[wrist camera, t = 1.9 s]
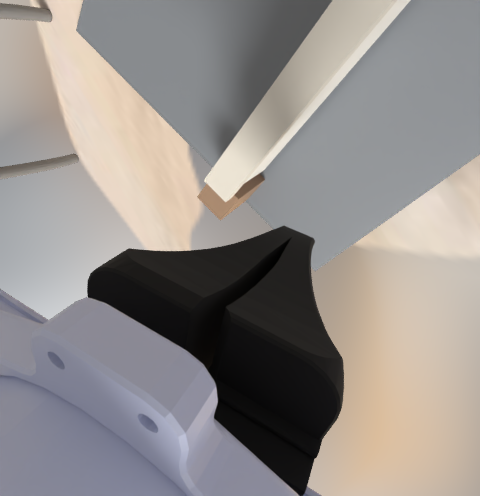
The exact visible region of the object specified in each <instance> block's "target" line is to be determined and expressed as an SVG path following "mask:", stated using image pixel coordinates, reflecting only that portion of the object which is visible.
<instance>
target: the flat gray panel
mask: <svg viewBox="0 0 480 496" xmlns="http://www.w3.org/2000/svg"><path fill="white" fill-rule="evenodd" d="M332 1H333V0H83V4H82V8H81V13H80V17H79V21H78V25H77V29H76V31H77V32H78V33H79V34H80V35H81V36H82V37H83V38H84V39H85V40H86V41H87V42H88V43H89V44H90V45H91V46H92V47H93V48H94V49H95V50H96V51H97V52H98V53H99V54H100V55H101V56H102V57H103V58H104V59H105V60H106V61H107V62H108V63H109V64H110V65H111V66H112V67H113V68H114V69H115V70H116V71H117V72H118V73H119V74H120V75H121V76H122V77H123V78H124V79H125V80H126V81H127V82H128V83H129V84H130V85H131V86H132V87H133V88H134V89H135V90H136V91H137V92H138V93H139V94H140V95H141V96H142V97H143V98H144V99H145V100H146V101H147V102H148V103H149V104H150V105H151V106H152V108H153V109H154V110H155V111H156V112H157V113H158V114H159V115H160V116H161V117H162V118H163V119H164V120H165V121H166V122H167V123H168V124H169V125H170V126H171V127H172V128H173V129H174V130H175V131H176V132H177V133H178V134H179V135H180V136H181V137H182V138H183V139H184V140H185V141H186V142H187V143H188V144H189V145H190V146H191V147H192V148H193V149H194V150H195V151H196V152H197V153H198V154H199V155H200V156H201V157H202V158H203V159H204V160H205V161H206V162H207V163H208V164H209V165H210V166H211V167H212V168H213V167H214V166H215V164H216V163H217V161H218V160H219V159H220V157H221V156H222V154H223V153H224V152H225V150H226V149H227V147H228V146H229V145H230V143H231V142H232V140H233V139H234V138H235V136H236V135H237V133H238V132H239V131H240V129H241V128H242V126H243V125H244V124H245V122H246V121H247V119H248V118H249V117H250V115H251V114H252V112H253V111H254V110H255V108H256V107H257V105H258V104H259V103H260V101H261V100H262V98H263V97H264V96H265V94H266V93H267V91H268V90H269V89H270V87H271V86H272V84H273V83H274V82H275V80H276V79H277V77H278V76H279V75H280V73H281V72H282V70H283V69H284V68H285V66H286V65H287V63H288V62H289V61H290V59H291V58H292V56H293V55H294V54H295V52H296V51H297V49H298V48H299V47H300V45H301V44H302V42H303V41H304V40H305V38H306V37H307V35H308V34H309V33H310V31H311V30H312V28H313V27H314V26H315V24H316V23H317V21H318V20H319V19H320V17H321V16H322V14H323V13H324V12H325V10H326V9H327V7H328V6H329V5H330V3H331V2H332ZM479 154H480V0H411V1H410V2H409V3H408V4H407V5H406V6H405V7H404V9H403V10H402V11H401V12H400V13H399V14H398V16H397V17H396V18H395V19H394V20H393V21H392V23H391V24H390V25H389V26H388V27H387V28H386V29H385V31H384V32H383V33H382V34H381V35H380V36H379V38H378V39H377V40H376V41H375V42H374V43H373V45H372V46H371V47H370V48H369V49H368V50H367V52H366V53H365V54H364V55H363V56H362V57H361V58H360V60H359V61H358V62H357V63H356V64H355V65H354V67H353V68H352V69H351V70H350V71H349V72H348V74H347V75H346V76H345V77H344V78H343V79H342V80H341V82H340V83H339V84H338V85H337V86H336V87H335V89H334V90H333V91H332V92H331V93H330V94H329V96H328V97H327V98H326V99H325V100H324V101H323V102H322V104H321V105H320V106H319V107H318V108H317V109H316V111H315V112H314V113H313V114H312V115H311V116H310V118H309V119H308V120H307V121H306V122H305V123H304V124H303V126H302V127H301V128H300V129H299V130H298V131H297V133H296V134H295V135H294V136H293V137H292V138H291V140H290V141H289V142H288V143H287V144H286V145H285V146H284V148H283V149H282V150H281V151H280V152H279V153H278V155H277V156H276V157H275V158H274V159H273V160H272V162H271V163H270V164H269V165H268V166H267V167H266V169H265V170H264V171H262V172H261V173H259V174H258V175H256V176H255V177H253V178H252V179H250V180H249V181H247V182H246V183H244V184H243V185H242V186H241V188H240V189H239V190H238V191H237V192H236V194H235V195H234V196H233V197H232V198H231V199H230V200H228V201H227V202H225V201H224V200H223V199H222V198H221V197H220V196H219V195H218V194H217V193H216V192H215V191H214V190H213V189H212V188H211V187H210V186H209V185H208V184H206V186H205V187H204V188H203V190H202V191H201V192H200V194H199V195H198V198H199V199H200V200H201V201H202V202H203V203H204V204H205V205H206V206H207V207H208V208H209V209H210V210H211V211H212V212H213V213H214V214H215V215H216V216H217V217H218V218H219V219H220V220H222V219H223V218H224V217H225V216H227V215H228V214H229V213H231V212H232V211H233V210H234V209H236V208H237V207H238V206H240V205H241V204H242V203H243V202H245V201H246V202H247V203H248V204H249V205H250V206H251V207H252V208H253V209H254V210H255V211H256V212H257V213H258V214H259V215H260V216H261V217H262V218H263V219H264V220H265V221H266V222H267V223H268V224H269V225H270V226H271V227H272V228H273V229H276V228H279V227H281V226H286V227H289V228H291V229H293V230H296V231H298V232H301V233H303V234H305V235H308V236H310V237H312V238H314V240H315V244H314V246H313V248H312V254H311V268H312V269H313V270H314V271H316V270H318V269H319V268H320V267H322V266H323V265H325V264H326V263H328V262H329V261H330V260H332V259H333V258H334V257H336V256H337V255H339V254H340V253H342V252H343V251H344V250H346V249H347V248H349V247H350V246H351V245H353V244H354V243H356V242H357V241H358V240H360V239H361V238H363V237H364V236H366V235H367V234H368V233H370V232H371V231H373V230H374V229H375V228H377V227H378V226H380V225H381V224H382V223H384V222H385V221H387V220H388V219H389V218H391V217H392V216H394V215H395V214H396V213H398V212H399V211H401V210H402V209H403V208H405V207H406V206H408V205H409V204H410V203H412V202H413V201H415V200H416V199H418V198H419V197H420V196H422V195H423V194H425V193H426V192H427V191H429V190H430V189H432V188H433V187H434V186H436V185H437V184H439V183H440V182H441V181H443V180H444V179H446V178H447V177H448V176H450V175H451V174H453V173H454V172H455V171H457V170H458V169H460V168H461V167H462V166H464V165H465V164H467V163H468V162H470V161H471V160H472V159H474V158H475V157H477V156H478V155H479Z"/></svg>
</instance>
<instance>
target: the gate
mask: <svg viewBox="0 0 480 496" xmlns="http://www.w3.org/2000/svg"><path fill="white" fill-rule="evenodd" d="M410 1H411V0H333V1H332V2H331V3H330V5H329V6H328V7H327V9H326V10H325V12H324V13H323V14H322V16H321V17H320V19H319V20H318V21H317V23H316V24H315V26H314V27H313V28H312V30H311V31H310V33H309V34H308V35H307V37H306V38H305V40H304V41H303V42H302V44H301V45H300V47H299V48H298V49H297V51H296V52H295V54H294V55H293V56H292V58H291V59H290V61H289V62H288V63H287V65H286V66H285V68H284V69H283V70H282V72H281V73H280V75H279V76H278V77H277V79H276V80H275V82H274V83H273V84H272V86H271V87H270V89H269V90H268V91H267V93H266V94H265V96H264V97H263V98H262V100H261V101H260V103H259V104H258V105H257V107H256V108H255V110H254V111H253V112H252V114H251V115H250V117H249V118H248V119H247V121H246V122H245V124H244V125H243V126H242V128H241V129H240V131H239V132H238V133H237V135H236V136H235V138H234V139H233V140H232V142H231V143H230V145H229V146H228V147H227V149H226V150H225V152H224V153H223V154H222V156H221V157H220V159H219V160H218V161H217V163H216V164H215V166H214V167H213V168H212V170H211V172H210V173H209V174H208V176H207V177H206V178H205V180H204V181H205V182H206V183H207V184H208V185H209V186H210V187H211V188H212V189H213V190H214V191H215V192H216V193H217V194H218V195H219V196H220V197H221V198H222V199H223V200H224V201H225V202H227V201H228V200H230V199H231V198H232V197H233V196H234V195H235V194H236V192H237V191H238V190H239V189H240V188H241V186H242V185H243V184H244V183H246V182H247V181H249V180H250V179H252V178H253V177H255V176H256V175H258V174H259V173H261V172H262V171H264V170H265V169H266V167H267V166H268V165H269V164H270V163H271V162H272V160H273V159H274V158H275V157H276V156H277V155H278V153H279V152H280V151H281V150H282V149H283V148H284V146H285V145H286V144H287V143H288V142H289V141H290V140H291V138H292V137H293V136H294V135H295V134H296V133H297V131H298V130H299V129H300V128H301V127H302V126H303V124H304V123H305V122H306V121H307V120H308V119H309V118H310V116H311V115H312V114H313V113H314V112H315V111H316V109H317V108H318V107H319V106H320V105H321V104H322V102H323V101H324V100H325V99H326V98H327V97H328V96H329V94H330V93H331V92H332V91H333V90H334V89H335V87H336V86H337V85H338V84H339V83H340V82H341V80H342V79H343V78H344V77H345V76H346V75H347V74H348V72H349V71H350V70H351V69H352V68H353V67H354V65H355V64H356V63H357V62H358V61H359V60H360V58H361V57H362V56H363V55H364V54H365V53H366V52H367V50H368V49H369V48H370V47H371V46H372V45H373V43H374V42H375V41H376V40H377V39H378V38H379V36H380V35H381V34H382V33H383V32H384V31H385V29H386V28H387V27H388V26H389V25H390V24H391V23H392V21H393V20H394V19H395V18H396V17H397V16H398V14H399V13H400V12H401V11H402V10H403V9H404V7H405V6H406V5H407V4H408V3H409V2H410Z"/></svg>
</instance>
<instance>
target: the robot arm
mask: <svg viewBox="0 0 480 496" xmlns="http://www.w3.org/2000/svg"><path fill="white" fill-rule="evenodd" d="M314 244H315V240H314V238H312V237H310V236H308V235H305V234H303V233H301V232H298V231H296V230H293V229H291V228H289V227H286V226H281V227H279V228H276V229H274V230H271V231H269V232H266V233H264V234H261V235H259V236H256V237H254V238H251V239H248V240H244V241H241V242H238V243H235V244H231V245H227V246H222V247H217V248H211V249H203V250H192V251H150V250H138V249H127V250H126V251H124V252H122V253H121V254H119V255H117V256H116V257H114V258H113V259H111V260H109V261H108V262H106V263H105V264H103V265H102V266H100V267H98V268H97V269H95V270H94V271H93V272H92V273H91V274H90V276H89V279H88V288H87V289H88V290H87V292H88V298H87V297H86V298H84V299H81V300H78V301H76V302H74V303H73V304H72V305H70V306H69V307H67V308H66V309H64V310H63V311H61V312H60V313H58V314H57V315H56V316H54V317H53V318H51V319H50V320H48V319H46V318H45V317H43V316H41V315H40V314H38V313H36V312H35V311H34V310H32V309H31V308H29V307H27V306H26V305H24V304H23V303H21V302H20V301H18V300H16V299H15V298H13V297H12V296H10V295H9V294H7V293H6V292H4V291H3V290H1V289H0V496H321V495H320V494H318V493H317V492H315V491H314V490H312V489H310V488H309V487H307V484H308V480H309V477H310V473H311V469H312V466H313V462H314V458H316V457H317V455H318V453H319V449H320V446H321V442H322V439H323V437H324V436H325V435H326V433H327V432H328V431H329V429H330V428H331V427H332V425H333V424H334V423H335V421H336V420H337V418H338V416H339V414H340V411H341V408H342V402H343V390H344V370H343V359H342V357H341V356H340V354H339V352H338V351H337V349H336V347H335V346H334V344H333V342H332V341H331V339H330V337H329V336H328V334H327V331H326V329H325V327H324V324H323V322H322V319H321V316H320V314H319V311H318V308H317V305H316V301H315V297H314V292H313V286H312V279H311V254H312V248H313V246H314Z"/></svg>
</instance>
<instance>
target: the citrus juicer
mask: <svg viewBox="0 0 480 496" xmlns="http://www.w3.org/2000/svg"><path fill="white" fill-rule="evenodd" d="M0 19H16V20H32V21H44V22H51V20H52V15H51V12H50V11H49V10H48V9H43V8H37V7H30V6H22V5H13V4H2V3H0ZM78 161H79V159H78V156H77V155H76V154H71V155H67V156H63V157H57V158H52V159H47V160H41V161H36V162H30V163H24V164H18V165H12V166H5V167H0V179H5V178H11V177H17V176H22V175H27V174H33V173H38V172H42V171H47V170H51V169H55V168H59V167H63V166H67V165H70V164H73V163H77V162H78Z"/></svg>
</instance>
